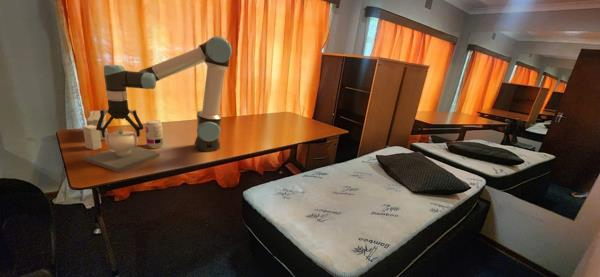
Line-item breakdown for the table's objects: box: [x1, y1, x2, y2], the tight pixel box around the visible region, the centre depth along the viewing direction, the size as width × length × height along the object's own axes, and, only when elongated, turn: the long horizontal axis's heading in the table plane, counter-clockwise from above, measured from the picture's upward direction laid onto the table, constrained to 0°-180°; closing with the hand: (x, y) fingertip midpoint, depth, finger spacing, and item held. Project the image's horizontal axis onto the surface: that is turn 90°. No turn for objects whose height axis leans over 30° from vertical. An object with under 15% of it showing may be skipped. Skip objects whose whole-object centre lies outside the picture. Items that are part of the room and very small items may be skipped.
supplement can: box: [144, 119, 164, 149], centre depth 137 cm, size 8×8×15 cm
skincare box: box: [82, 124, 102, 151], centre depth 126 cm, size 6×4×12 cm
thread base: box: [83, 145, 161, 173], centre depth 120 cm, size 22×22×7 cm
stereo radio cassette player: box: [86, 106, 108, 141], centre depth 140 cm, size 21×8×20 cm, turn 35°
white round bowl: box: [107, 129, 137, 150], centre depth 118 cm, size 11×11×7 cm
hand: (122, 143), depth 118 cm, fingers open, 11 cm apart
